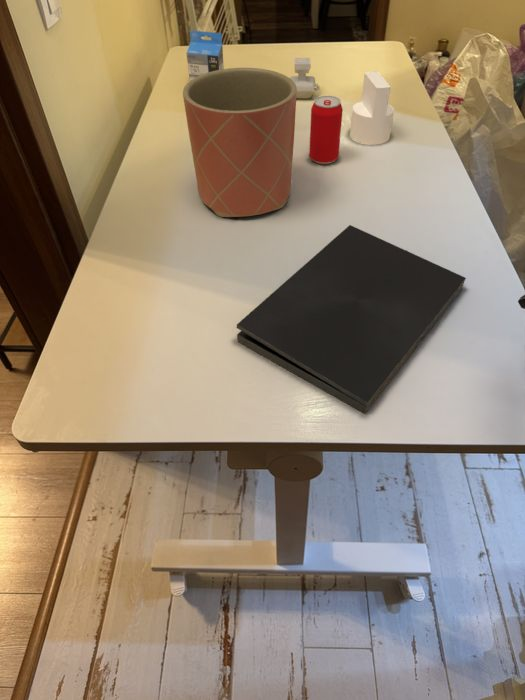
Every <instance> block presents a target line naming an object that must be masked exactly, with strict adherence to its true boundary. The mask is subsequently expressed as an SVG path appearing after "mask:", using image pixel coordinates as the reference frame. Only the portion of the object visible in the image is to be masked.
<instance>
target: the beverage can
mask: <svg viewBox="0 0 525 700" xmlns="http://www.w3.org/2000/svg"><path fill="white" fill-rule="evenodd" d="M341 101H342V100H341V99H340V98H339V97H337V96H334V95H322V96H321V95H320V96H318V97H316V98H315V99H314V100H313V103H312V105H311V109H310V127H309V129H310V130H309V152H308V155H309V158H310V160H311V161H313V162H315V163H316V164H319V165H328V164H332V163H333V162H335V161H336V160H337V159H339V155H340V143H341V132H342V123H343V122H342V121H343V110H344V109H343V106H342V102H341Z"/></svg>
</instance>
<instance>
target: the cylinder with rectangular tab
mask: <svg viewBox="0 0 525 700" xmlns="http://www.w3.org/2000/svg"><path fill="white" fill-rule="evenodd" d="M390 93H391V86H390V84H389V83H388V82H387V80H386V79H385V78H384V77H383V75H382V74H381V73H380V72H379V71H366V72H364V75H363V84H362V92H361V99H360V101H358V102H356V103H354V104H353V106H352V110H351V117H350V127H349V139H351V140H352V141H354V142H355V143H358V144H360V145H361V144H362V145H364V146H365V145H366V146H377V145H382V144H385V143H387V142H388V141H389V140H390V137H391V131H392V125H393V119H394V113H395V108H394V106H392V105H391V104H390V103H389V101H390V100H389V99H390Z"/></svg>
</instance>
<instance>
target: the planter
mask: <svg viewBox="0 0 525 700" xmlns="http://www.w3.org/2000/svg"><path fill="white" fill-rule="evenodd" d="M296 95H297V88H296V85H295V83H294V82H293V81H292V80H291V79H290V77H289V76H287V75H285V74H282V73H280V72H278V71H274V70H270V69H265V68H260V67H259V68H258V67H231V68H224V69H222V70H216V71H212V72H208V73H205V74H203V75H200V76H198V77H196V78H194V79H192V80H191V81H190V80H189V82H187V83H186V84H185V85H184V87H183V90H182V99H183V104H184V111H185V117H186V124H187V130H188V131H187V132H188V137H189V143H190V150H191V155H192V160H193V166H194V167H193V168H194V174H195V179H196V186H197V191H198V196H199V198H200V200H201V202H202V203H203V204H204V205H206V207H208V208H209V209H211V210H212V211H213V212H214V213H215V214H216V216H218V217H221V218H235V217H236V218H238V217H239V218H240V217H252V216H259V215H263V214H267V213H270V212H274V211H277V210H280V209H282V208H284V207H285V206H286V204H287V201H288V199H289V196H290V193H291V188H292V175H293V160H294V159H293V157H294V145H295V144H294V143H295V129H296V112H297V111H296V110H297V98H296Z"/></svg>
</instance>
